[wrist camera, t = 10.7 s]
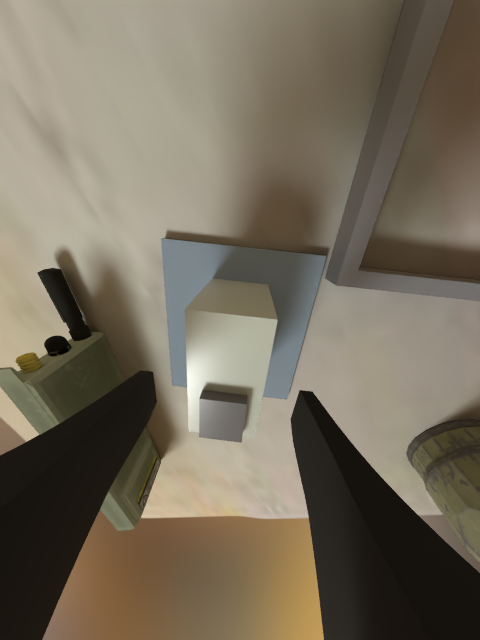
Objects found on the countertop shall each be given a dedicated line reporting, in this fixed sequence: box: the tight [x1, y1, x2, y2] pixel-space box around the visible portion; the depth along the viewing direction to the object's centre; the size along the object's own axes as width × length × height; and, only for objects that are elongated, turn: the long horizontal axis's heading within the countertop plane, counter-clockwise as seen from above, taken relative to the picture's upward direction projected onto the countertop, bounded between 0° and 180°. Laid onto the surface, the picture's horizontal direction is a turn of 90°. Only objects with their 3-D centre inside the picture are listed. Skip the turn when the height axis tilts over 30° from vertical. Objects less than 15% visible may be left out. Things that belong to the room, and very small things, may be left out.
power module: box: [185, 278, 278, 442], centre depth 12 cm, size 4×8×7 cm, turn 175°
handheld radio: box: [0, 268, 161, 531], centre depth 17 cm, size 7×3×25 cm
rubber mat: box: [161, 238, 327, 400], centre depth 16 cm, size 11×13×1 cm
